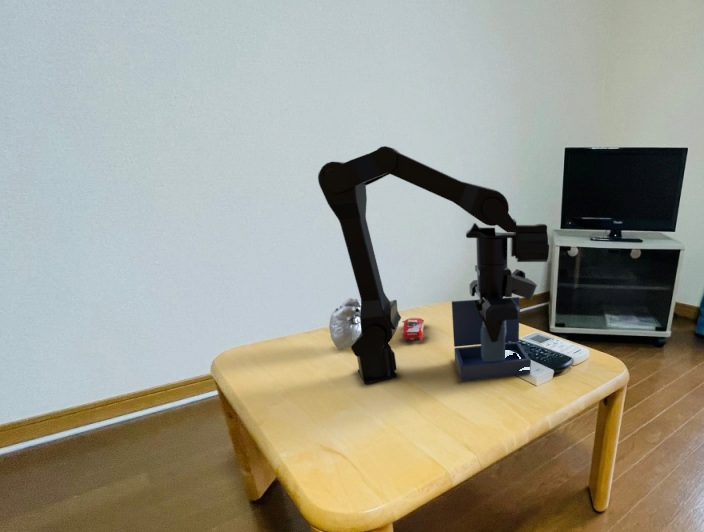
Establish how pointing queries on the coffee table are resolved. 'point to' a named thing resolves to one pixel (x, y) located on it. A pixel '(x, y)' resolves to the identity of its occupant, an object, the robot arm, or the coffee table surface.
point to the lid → (476, 324)
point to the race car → (413, 329)
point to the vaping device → (493, 345)
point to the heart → (345, 324)
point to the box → (490, 363)
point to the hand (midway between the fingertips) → (492, 338)
